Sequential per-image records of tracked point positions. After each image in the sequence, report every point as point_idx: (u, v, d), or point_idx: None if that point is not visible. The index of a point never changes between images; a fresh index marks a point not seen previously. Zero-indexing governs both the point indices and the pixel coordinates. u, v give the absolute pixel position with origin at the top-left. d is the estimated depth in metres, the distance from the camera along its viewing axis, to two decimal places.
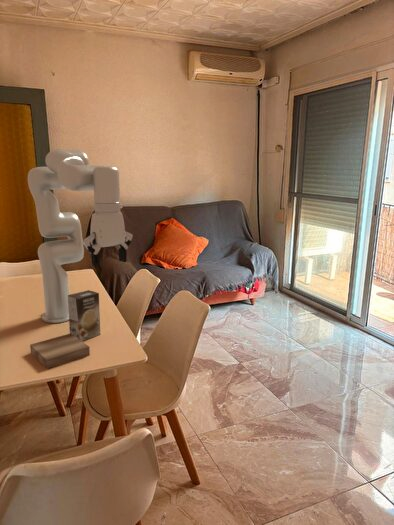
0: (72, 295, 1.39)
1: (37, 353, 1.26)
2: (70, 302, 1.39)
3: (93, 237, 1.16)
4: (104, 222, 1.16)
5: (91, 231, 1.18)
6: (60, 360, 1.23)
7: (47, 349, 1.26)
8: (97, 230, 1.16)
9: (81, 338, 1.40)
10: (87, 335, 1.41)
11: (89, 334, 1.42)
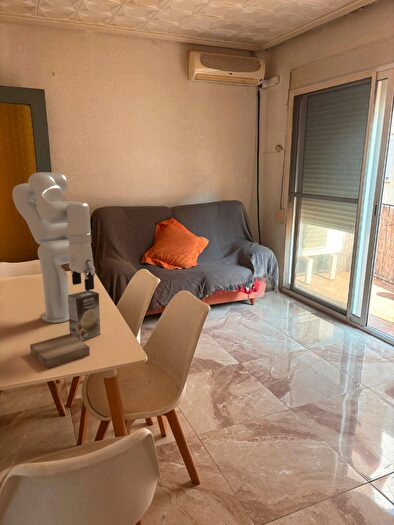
0: (72, 295, 1.39)
1: (37, 353, 1.26)
2: (70, 302, 1.39)
3: None
4: None
5: (83, 260, 1.33)
6: (60, 360, 1.23)
7: (47, 349, 1.26)
8: (91, 257, 1.35)
9: (81, 338, 1.40)
10: (87, 335, 1.41)
11: (89, 334, 1.42)
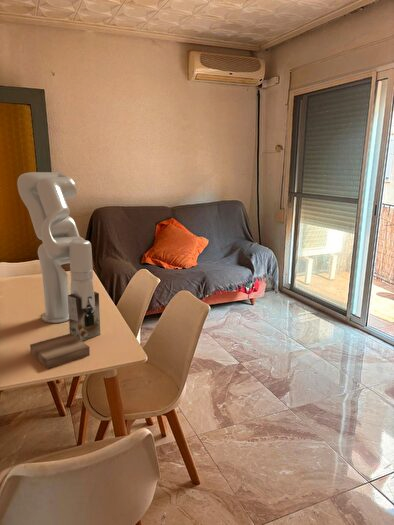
0: (72, 295, 1.39)
1: (37, 353, 1.26)
2: (70, 302, 1.39)
3: None
4: None
5: (85, 297, 1.36)
6: (60, 360, 1.23)
7: (47, 349, 1.26)
8: (93, 294, 1.38)
9: (81, 338, 1.40)
10: (87, 335, 1.41)
11: (89, 334, 1.42)
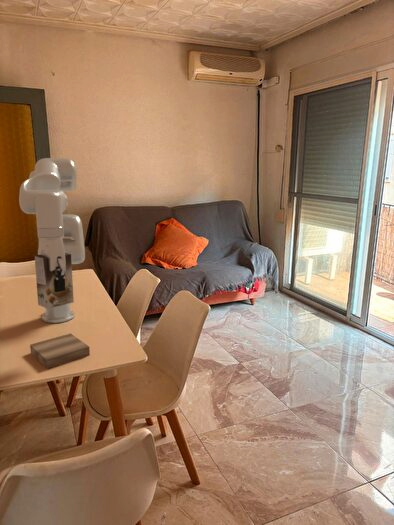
0: (40, 255, 1.21)
1: (37, 353, 1.26)
2: (37, 263, 1.21)
3: None
4: None
5: (54, 257, 1.18)
6: (60, 360, 1.23)
7: (47, 349, 1.26)
8: (63, 254, 1.20)
9: (50, 305, 1.21)
10: (57, 302, 1.23)
11: (59, 301, 1.24)
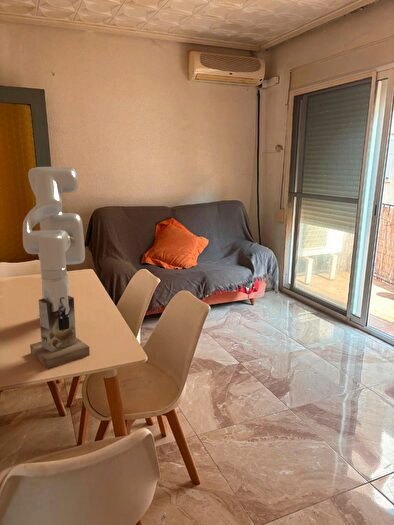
0: (43, 300, 1.25)
1: (37, 353, 1.26)
2: (41, 308, 1.25)
3: None
4: None
5: (57, 298, 1.21)
6: (60, 360, 1.23)
7: None
8: (66, 294, 1.23)
9: (53, 348, 1.25)
10: (60, 345, 1.27)
11: (62, 343, 1.27)
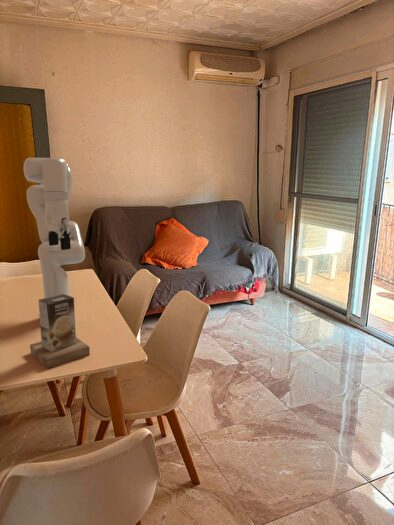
0: (43, 300, 1.25)
1: (37, 353, 1.26)
2: (41, 308, 1.25)
3: None
4: None
5: (59, 218, 1.28)
6: (60, 360, 1.23)
7: None
8: (67, 215, 1.30)
9: (53, 348, 1.25)
10: (60, 345, 1.27)
11: (62, 343, 1.27)
